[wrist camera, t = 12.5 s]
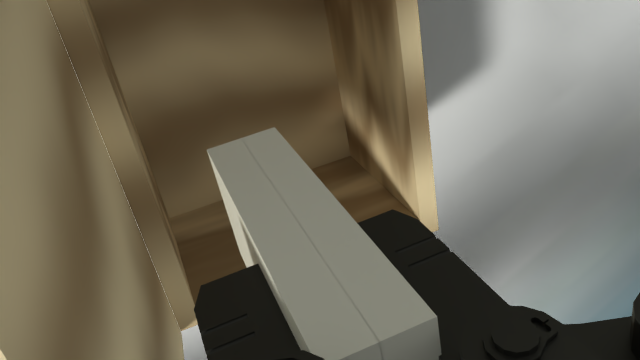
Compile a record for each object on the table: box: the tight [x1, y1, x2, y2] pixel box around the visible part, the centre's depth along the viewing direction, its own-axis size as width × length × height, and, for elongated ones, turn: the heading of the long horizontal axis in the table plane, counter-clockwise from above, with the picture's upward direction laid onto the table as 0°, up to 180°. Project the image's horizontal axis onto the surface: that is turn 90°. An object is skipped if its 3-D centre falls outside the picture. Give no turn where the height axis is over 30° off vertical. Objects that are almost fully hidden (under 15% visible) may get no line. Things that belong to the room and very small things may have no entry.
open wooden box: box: [46, 0, 439, 331], centre depth 27 cm, size 24×14×10 cm, turn 11°
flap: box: [0, 0, 184, 360], centre depth 15 cm, size 24×14×1 cm
